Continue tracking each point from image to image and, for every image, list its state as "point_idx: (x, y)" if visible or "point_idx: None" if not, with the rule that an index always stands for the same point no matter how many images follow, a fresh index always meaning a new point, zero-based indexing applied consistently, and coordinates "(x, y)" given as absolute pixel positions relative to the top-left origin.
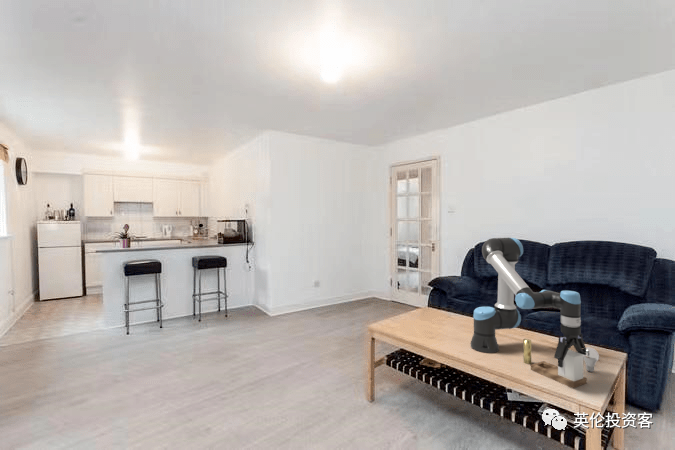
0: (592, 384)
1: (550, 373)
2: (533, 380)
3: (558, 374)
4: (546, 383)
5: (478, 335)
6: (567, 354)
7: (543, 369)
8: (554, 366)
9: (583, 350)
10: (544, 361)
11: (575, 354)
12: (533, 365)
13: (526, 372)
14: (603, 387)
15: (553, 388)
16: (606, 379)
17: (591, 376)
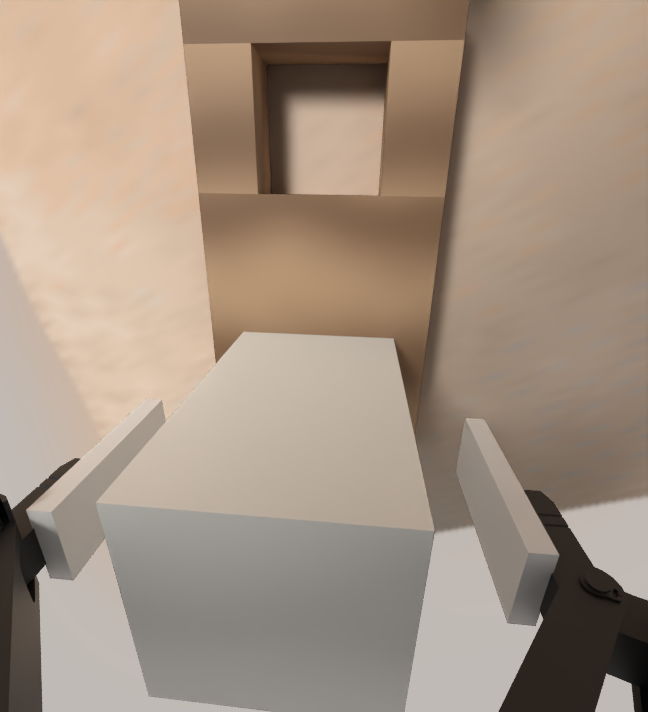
0: (426, 468)
1: (208, 274)
2: (48, 216)
3: (243, 336)
4: (115, 303)
5: None
6: (148, 625)
7: (215, 181)
8: (411, 192)
9: (632, 684)
10: (465, 4)
11: (274, 680)
12: (196, 31)
13: (105, 52)
14: (442, 516)
15: (103, 371)
16: (616, 483)
17: (585, 410)
